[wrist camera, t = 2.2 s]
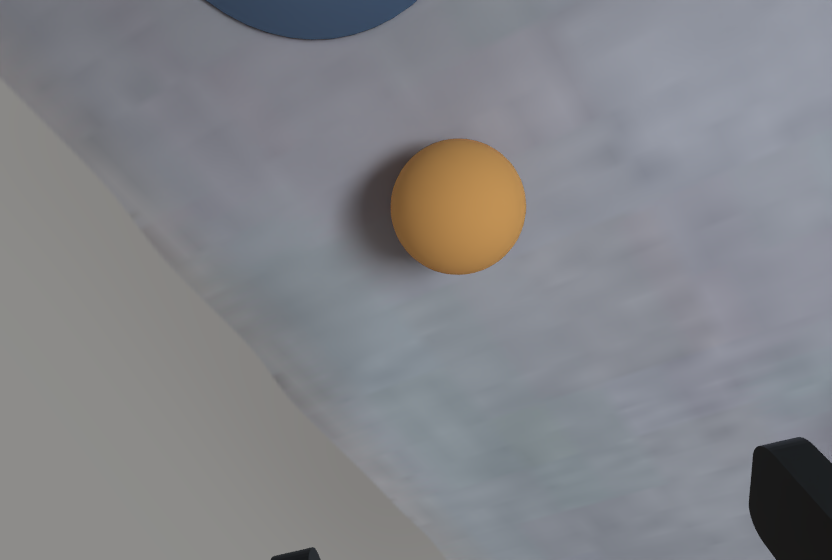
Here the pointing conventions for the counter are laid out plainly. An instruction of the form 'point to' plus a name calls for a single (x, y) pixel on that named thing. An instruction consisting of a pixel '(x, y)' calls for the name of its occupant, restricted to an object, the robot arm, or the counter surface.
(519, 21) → the counter surface
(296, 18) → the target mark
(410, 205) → the ball
